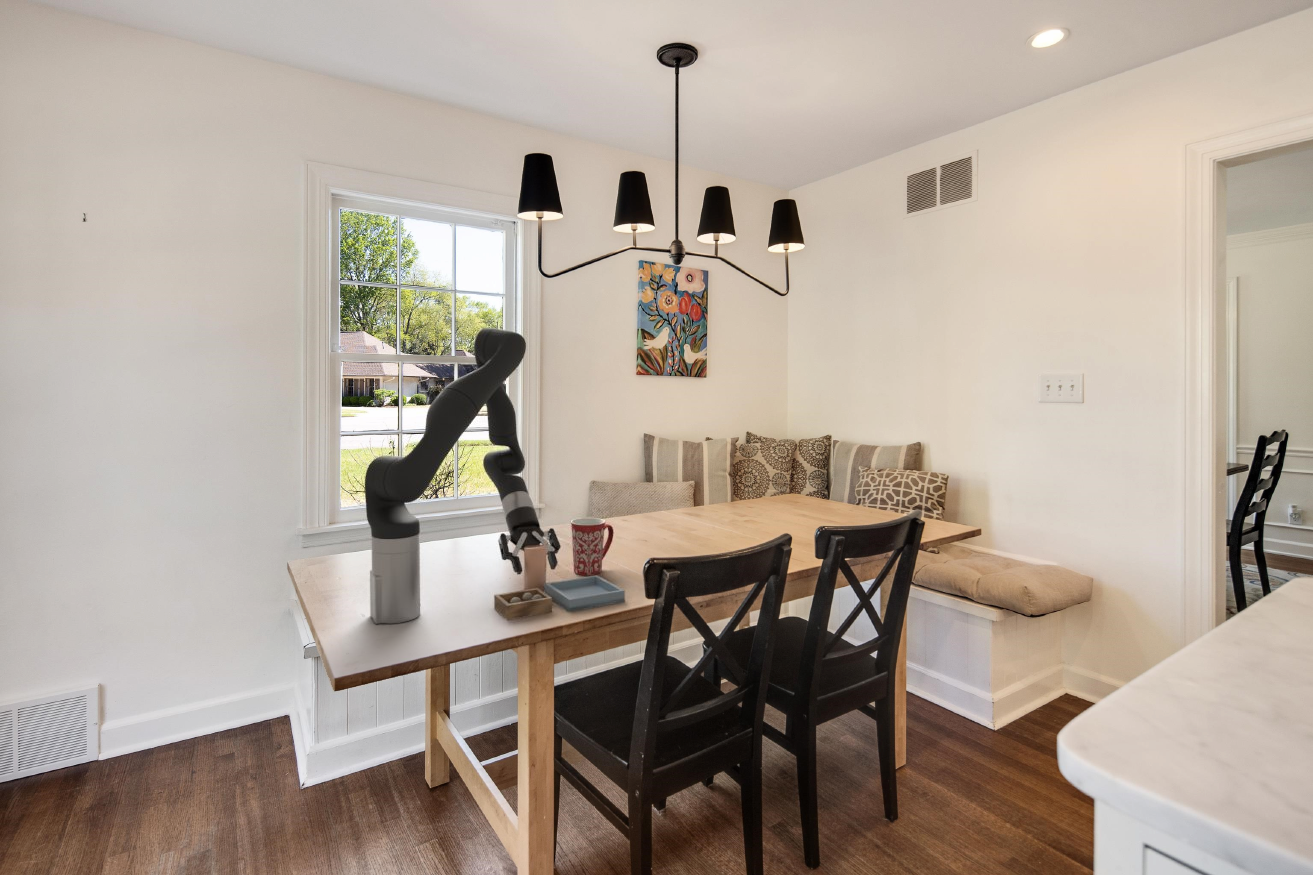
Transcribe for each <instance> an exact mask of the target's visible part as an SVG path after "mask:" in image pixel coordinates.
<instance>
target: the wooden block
mask: <svg viewBox="0 0 1313 875" xmlns="http://www.w3.org/2000/svg"><path fill="white" fill-rule="evenodd" d="M523 552H524V553H523V562H524V563H523V590H528V589H535V588H539V589H540V590H541V591H543V592H544V591H545V583H547V557H548V556H547V547H546V546H544V545H542V544H540V545H528V546H525V547H524V551H523Z"/></svg>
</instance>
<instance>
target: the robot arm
mask: <svg viewBox="0 0 1313 875" xmlns="http://www.w3.org/2000/svg"><path fill="white" fill-rule="evenodd" d="M526 343H527V342H526V340H525V338H524V337H523V335H521V334H520V333H518V332H516V331H512V330H506V329H501V328H500V329H499V328H495V327H483V328H481V329H480V330H479V331H478V332H477V333H476V336H475V338H474V342H473V350H474V351H473V352H474V357H475V363H476V367H477V369H475V370H473V371H472V372H469V373H467V374H465V375H462V376H461V377H459V378H457V379H455V380H453V381H451V382H450V383H448V384H447V385H446V386H445V387H444V388H443V389H442V390H441V392H440V393H439V394H438V395H437V396H436V397H435V398H434V400H433V401H432V403H431V404H430V406H429V407H428V409H427V414H426V418H425V427H424V428H425V429H424V432H423V433H424V434H423V436H422V437H421V439H420V440H419V441H418V442H417V444H416V445H415V446H414V447H413V449H412V450H410V452H409V453H408V454H407V455H405V456H398V455H396V456H395V455H380V456H378V457H375V458H374V459H373V460H372V461H371V462H370V463H369V464H368V467H367V468H366V472H365V477H364V494H365V496H364V497H365V512H366V518H367V520H366V521H367V523H368V525H369V526H370V531H371V532H370V533H371V570H369V594H370V595H369V598H370V600H369V603H370V604H369V605H370V606H369V610H370V613H369V614H370V617H371V619H372V621H373V622H374V624H375V625H378V624H399V623H405V622H409V621H412V620H415V619H417V618H418V617H420V615H421V605H422V604H421V546H420V545H421V543H420V542H421V538H420V537H421V536H420V535H421V533H420V532H421V528H420V527H421V526H420V525H421V524H420V520H419V519H418V518H417V517H416V516H415V515H414V514H412V513H411V512H410V511H409V510H408V508H407V506H406V504H407V503H408V504H409V503H412V502H415V501H416V500H418V499H419V498H421V497H422V495H423V494H424V493H425V491H426V490H427V489H428V487H430V485H431V482H432V481H433V479H434V477H435V476H436V474H437V472H438V471H439V469H440V467H441V465H442V464H443V462H444V461H445V459H446V457H447V456H448V454H449V453H450V452H451V450H452V449H453V447H454V446H455V445H456V443H457V442H458V441H459V439H460V438H461V437H462V436H463V434H464V433H465V432H466V430H467V429H468V427H469V426H470V425H471V423H472V422H473V421H474V419H475V418H476V417H477V415H478V414H479V413H480V411H481V410H482V408H483V407H484V406H486V413H487V414H486V416H487V424H488V425H487V426H488V427H487V429H488V439H489V442H490V443H491V444H492V445H494V446H499V447H507V448H504V449H497V450H492V451H489V452H487V453H486V454H485V455H484V457H483V460H482V461H483V462H482V463H483V464H482V466H483V469H484V472H485V473H486V475H487V476H488V477H489V479H490V480H491V482H492V483H493V485H494V487H495V488H496V489H497V492H498V494H499V498H500V502H501V506H502V511H503V512H502V513H503V516H504V520H505V521H506V526H507V529H508V533H509V534H507V535H506V534H505V533H500V535H499V538H498V540H497V542H498V545H499V551H500V555H501V560H503V561H506V560H508V561H510V562H511V565H512V570H513V572H514V573H516V575H521V574H522V572H523V567H522V564H521V559H520V557H519V556H518V555H519V553H520V551H523V552H524V547H525V546H528V545H544V546H546V547H547V556H546V559H547V561H548V565H549V567H550V570H555V569H556V567H557V566H558V562H559V561H558V559H557V555H556V554H558V553H559V551H560V549H561V543H560V540H559V539H558V536H557V534H556V532H555V529H554V528H553V527H552V528H551V527H550V528H549V529H548V530H543V529H542V528H541V525H540V522H539V518H538V515H537V512H536V510H535V506H534V503H533V500H532V498H531V497H530V493H529V490H528V488H527V487H528V486H527V484H526V482H525V480H524V478H523V477H522V476H520V475H518V474H521V473H522V472H523V471H524V470H525V467H526V460H525V457H524V454H523V452H522V449H521V446H520V443H519V439H518V431H517V417H516V416H517V415H516V410H515V407H514V404H513V403H512V401H511V399H510V397H509V395H508V393H507V392H506V390H505V387H504V386H503V383H504V382H505V381H506V380H507V379H508V378H509V377H510V376H511V375H512V374H513V373H514V372H515V371H516V369H518V367H519V365H521V363H522V362H523V359H524V357H525V354H526V351H527V344H526ZM509 542H511V543H512V545H514V546H515V547H514V549H513V552H511V551H510V549H509V546H508V544H509Z"/></svg>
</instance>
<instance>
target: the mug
mask: <svg viewBox="0 0 1313 875" xmlns="http://www.w3.org/2000/svg"><path fill="white" fill-rule="evenodd" d="M570 525H571V541H572V559H573V573H574V574H576V575H579V576H596V575H598V574H601V573H602V570H603V559H604V558H605V557H606V554H607V553H608V552H609V549H610V547H611V545H612V542H613V538H614V535H615V534H614V533H615V532H614V528H613V526H612V525H611V524H609V523H606V520H605V519H602V518H597V517H579V518H574V519H572V520H571V521H570ZM606 529H607V538H606V541H605V544H604V539H605V530H606Z"/></svg>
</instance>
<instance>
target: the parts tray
mask: <svg viewBox="0 0 1313 875" xmlns="http://www.w3.org/2000/svg"><path fill="white" fill-rule="evenodd" d="M493 597H494V598H493V599H494V601H493V602H494V604H493V605H494V606H493V607H494V610H495V611H497V613H499V614H500V616H502V617H503V618H505V619H506V621H508V620H514V619H519V618H524V617H526V618H527V617H530V616H535V615H542V614H546V613H552V612H553V600H552V598H551V597H550V596H549V595H547V594H546V593H545V591H544V590H543V591H541V590H540V589H539V588H535V589H528V590H524V589H523V590H518V591H510V592H505V593H504V592H503V593H497V594H494V596H493Z"/></svg>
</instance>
